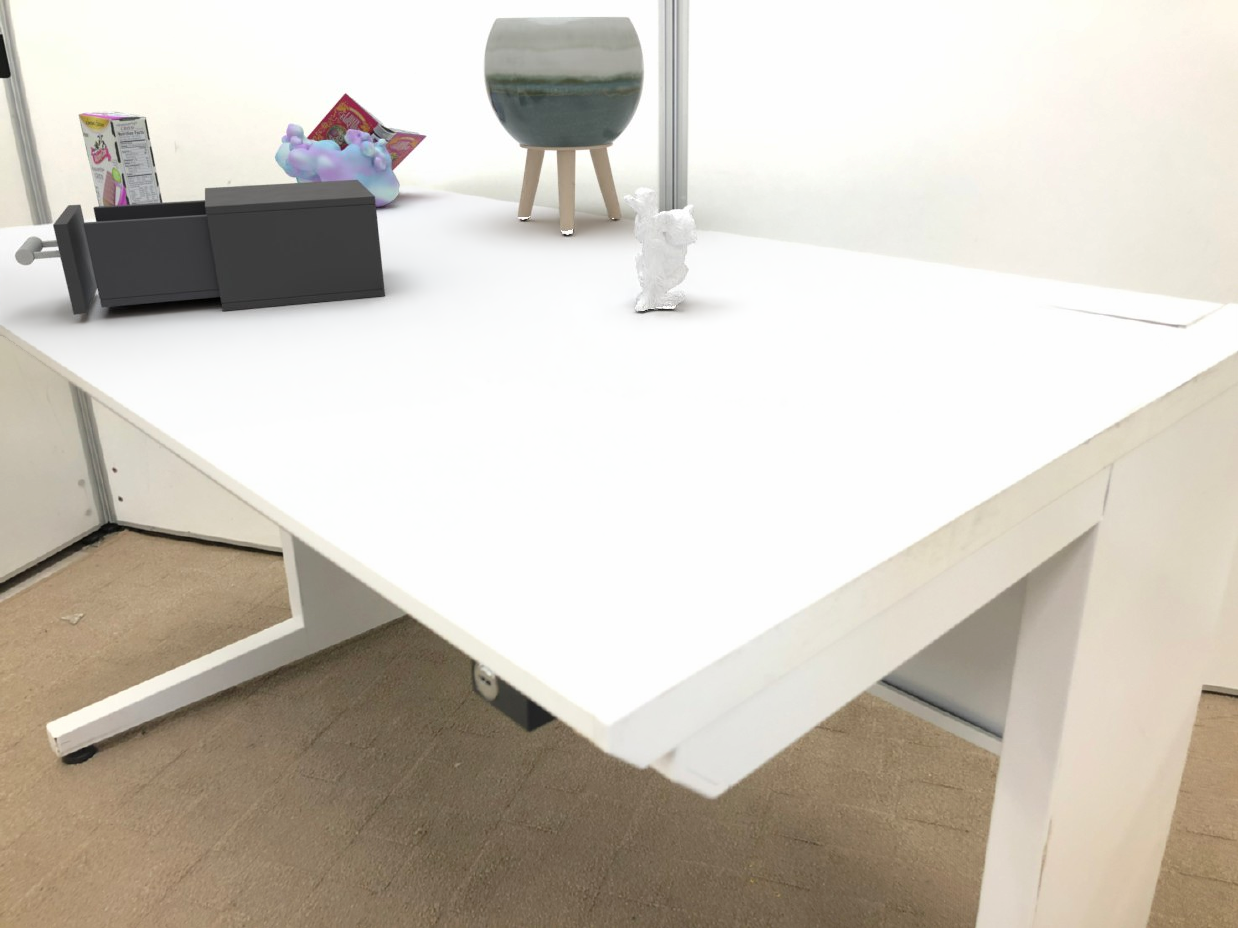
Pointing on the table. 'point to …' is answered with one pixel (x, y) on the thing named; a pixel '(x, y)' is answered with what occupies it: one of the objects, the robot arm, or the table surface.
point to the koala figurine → (660, 249)
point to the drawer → (132, 254)
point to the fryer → (294, 243)
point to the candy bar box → (120, 158)
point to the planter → (564, 96)
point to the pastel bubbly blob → (348, 150)
